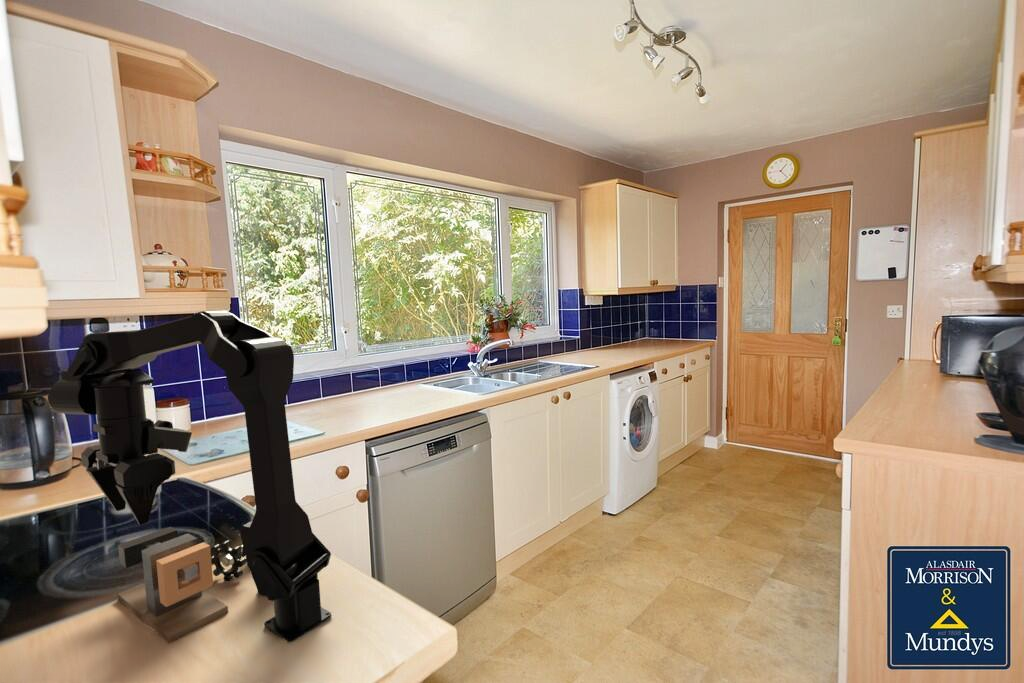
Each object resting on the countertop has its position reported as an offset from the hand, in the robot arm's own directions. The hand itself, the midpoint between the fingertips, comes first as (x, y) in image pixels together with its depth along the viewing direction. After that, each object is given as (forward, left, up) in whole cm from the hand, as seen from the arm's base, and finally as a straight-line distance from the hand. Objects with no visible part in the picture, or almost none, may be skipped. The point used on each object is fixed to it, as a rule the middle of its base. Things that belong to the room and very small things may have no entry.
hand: (131, 516), depth 75 cm
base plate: (-7, -2, -13) cm, 15 cm away
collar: (-13, -2, -9) cm, 16 cm away
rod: (-7, -2, -7) cm, 10 cm away
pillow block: (-8, -2, -13) cm, 15 cm away
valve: (-5, -15, -13) cm, 21 cm away
